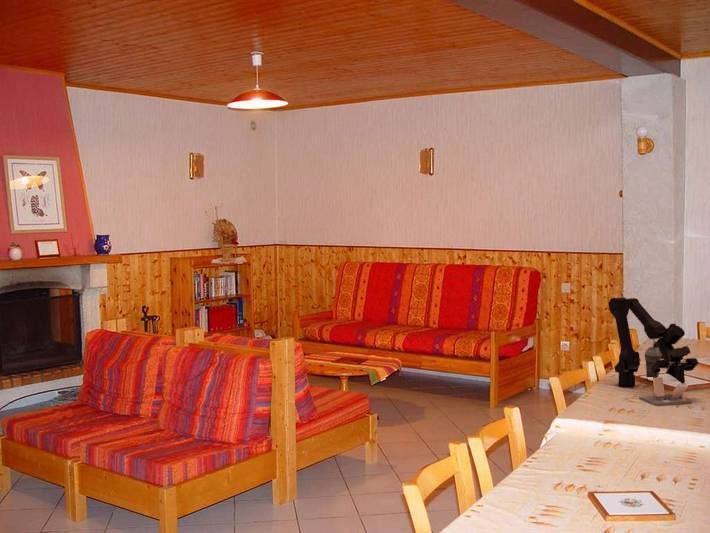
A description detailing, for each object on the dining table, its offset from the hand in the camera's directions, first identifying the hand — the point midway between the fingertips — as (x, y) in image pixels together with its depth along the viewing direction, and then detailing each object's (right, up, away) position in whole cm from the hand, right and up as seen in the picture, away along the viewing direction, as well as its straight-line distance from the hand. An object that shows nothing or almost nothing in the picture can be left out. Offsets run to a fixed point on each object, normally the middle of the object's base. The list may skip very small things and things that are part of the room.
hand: (683, 382), depth 331 cm
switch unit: (-5, -8, +5) cm, 11 cm away
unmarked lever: (-8, -6, +4) cm, 11 cm away
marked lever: (-1, -6, +6) cm, 8 cm away
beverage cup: (+3, -5, +44) cm, 44 cm away
